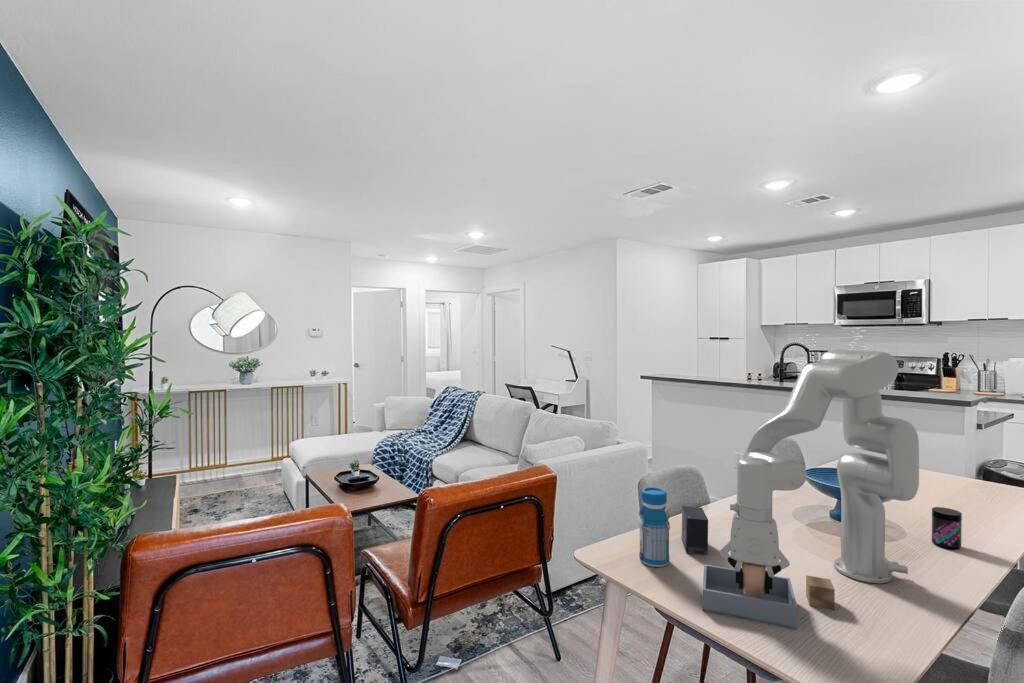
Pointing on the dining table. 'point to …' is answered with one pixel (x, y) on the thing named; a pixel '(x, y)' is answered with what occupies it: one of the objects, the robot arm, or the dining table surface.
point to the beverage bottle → (654, 528)
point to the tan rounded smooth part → (754, 580)
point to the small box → (694, 530)
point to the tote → (749, 599)
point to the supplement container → (946, 528)
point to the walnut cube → (820, 592)
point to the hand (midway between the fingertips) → (753, 588)
